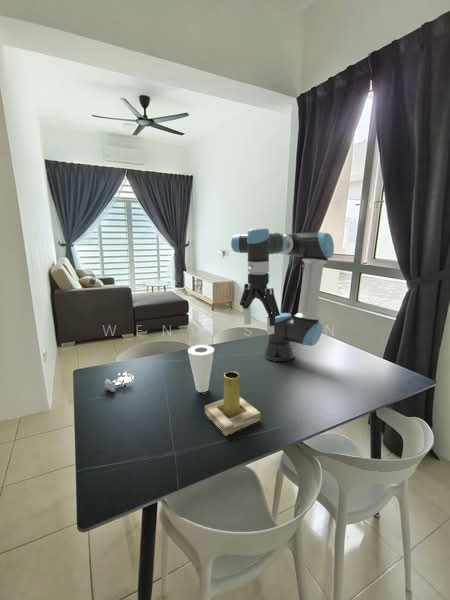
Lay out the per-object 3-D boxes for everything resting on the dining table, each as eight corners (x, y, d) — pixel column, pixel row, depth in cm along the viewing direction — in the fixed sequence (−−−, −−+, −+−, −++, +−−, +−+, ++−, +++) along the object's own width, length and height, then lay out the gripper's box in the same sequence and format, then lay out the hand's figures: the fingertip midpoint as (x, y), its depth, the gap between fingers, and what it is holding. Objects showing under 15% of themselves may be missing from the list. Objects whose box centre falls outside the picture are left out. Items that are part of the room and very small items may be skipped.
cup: (195, 400, 111) (193, 357, 107) (185, 387, 121) (184, 347, 117) (219, 393, 116) (218, 351, 112) (208, 381, 125) (207, 343, 121)
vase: (239, 418, 96) (239, 380, 93) (221, 416, 97) (220, 378, 94) (241, 408, 102) (241, 371, 99) (224, 406, 103) (224, 370, 100)
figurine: (100, 378, 120) (127, 366, 127) (104, 391, 122) (131, 378, 129) (107, 386, 113) (135, 372, 120) (112, 399, 115) (139, 385, 122)
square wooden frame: (204, 414, 102) (204, 405, 102) (236, 402, 110) (236, 394, 109) (225, 436, 91) (225, 427, 90) (260, 421, 98) (260, 412, 97)
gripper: (230, 270, 110) (231, 322, 116) (274, 278, 90) (273, 341, 95) (245, 268, 114) (246, 318, 119) (291, 275, 94) (289, 336, 99)
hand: (258, 328), depth 107 cm, fingers open, 13 cm apart
